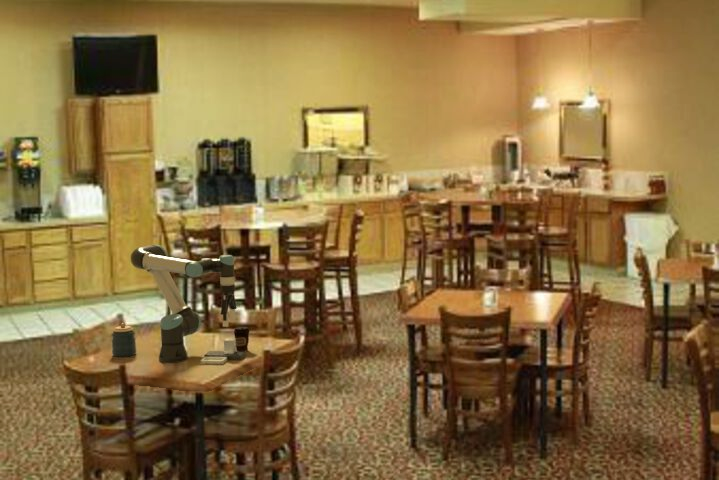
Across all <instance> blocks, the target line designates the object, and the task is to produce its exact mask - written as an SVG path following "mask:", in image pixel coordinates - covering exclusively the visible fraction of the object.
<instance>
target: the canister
mask: <svg viewBox="0 0 719 480" xmlns="http://www.w3.org/2000/svg"><path fill="white" fill-rule="evenodd" d="M110 335H111V337H112V338H111V349H112V351H111V352H112V353H111V355H112V356H113V357H116V358H126V357H127V358H128V357H132V356H136V354H137V346H136V345H137V344H136V336H135V335H136V332H135V331H134V327H132V326H130V325H126V323H124V322H122V323H120V325H119V326H115V327H114V328H113V329H112V333H111V334H110Z"/></svg>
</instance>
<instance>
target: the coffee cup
mask: <svg viewBox="0 0 719 480" xmlns="http://www.w3.org/2000/svg"><path fill="white" fill-rule="evenodd" d="M233 334H234V339H236V351H244V352H245V353H246V352H249V348H248V346H249V340H250V339H249V335H250V329H249V327H248V326H240V327H235V329H234V330H233Z"/></svg>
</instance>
